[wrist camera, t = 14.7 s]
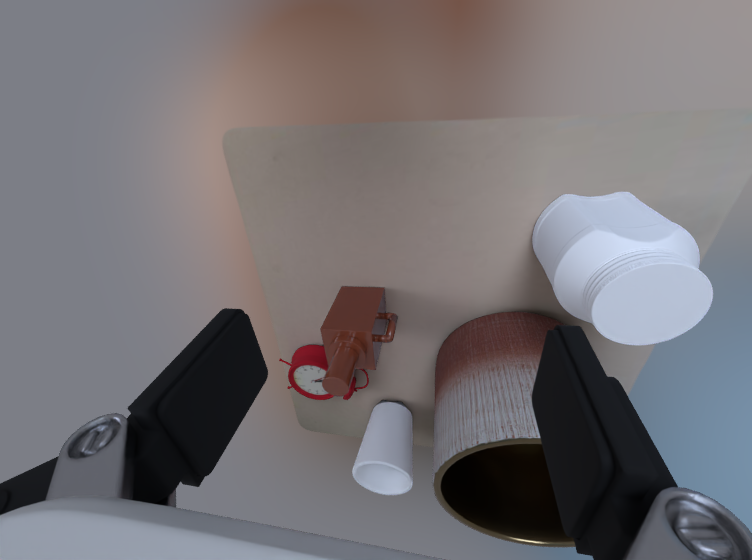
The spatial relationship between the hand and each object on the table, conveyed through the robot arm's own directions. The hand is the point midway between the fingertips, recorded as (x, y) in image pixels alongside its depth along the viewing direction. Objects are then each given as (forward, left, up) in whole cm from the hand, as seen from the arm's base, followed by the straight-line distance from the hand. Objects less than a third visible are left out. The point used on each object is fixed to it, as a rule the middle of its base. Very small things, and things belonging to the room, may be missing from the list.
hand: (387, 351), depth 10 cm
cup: (+47, -7, -32) cm, 58 cm away
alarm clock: (+36, -18, -32) cm, 52 cm away
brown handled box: (+22, -9, -32) cm, 40 cm away
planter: (+32, +12, -32) cm, 47 cm away
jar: (+10, +18, -32) cm, 38 cm away
